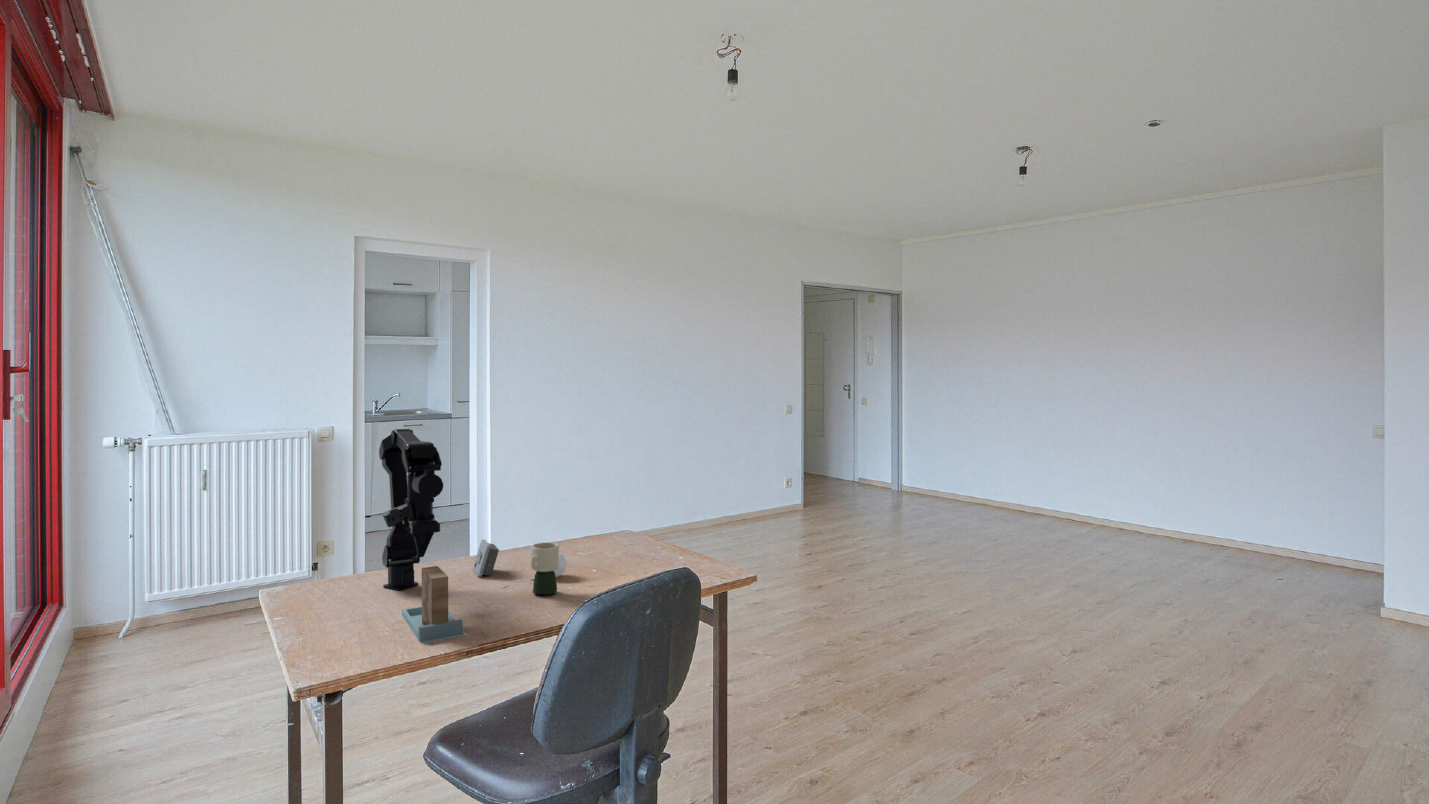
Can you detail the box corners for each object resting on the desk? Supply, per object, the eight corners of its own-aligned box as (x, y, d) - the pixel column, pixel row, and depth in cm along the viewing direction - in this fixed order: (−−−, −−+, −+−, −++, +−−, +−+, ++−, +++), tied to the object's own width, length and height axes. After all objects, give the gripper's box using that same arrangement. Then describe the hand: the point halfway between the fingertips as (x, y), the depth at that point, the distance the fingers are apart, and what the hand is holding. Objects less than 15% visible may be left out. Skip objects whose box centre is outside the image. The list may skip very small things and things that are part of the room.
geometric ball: (548, 585, 210) (546, 559, 215) (572, 577, 209) (570, 551, 213) (534, 578, 204) (532, 551, 208) (559, 570, 203) (557, 543, 207)
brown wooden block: (421, 623, 168) (421, 568, 168) (437, 621, 170) (437, 565, 169) (431, 637, 160) (431, 578, 159) (448, 634, 162) (448, 576, 161)
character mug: (546, 586, 200) (546, 539, 199) (568, 589, 197) (568, 542, 197) (521, 597, 190) (521, 548, 190) (543, 601, 187) (543, 551, 187)
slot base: (401, 617, 174) (401, 602, 173) (441, 611, 179) (441, 596, 178) (420, 646, 156) (420, 629, 156) (463, 638, 161) (463, 622, 161)
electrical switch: (472, 570, 215) (475, 538, 215) (490, 569, 218) (493, 538, 218) (478, 578, 207) (481, 546, 207) (496, 578, 209) (500, 545, 209)
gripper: (380, 492, 184) (381, 553, 184) (389, 501, 168) (390, 568, 168) (427, 488, 189) (428, 548, 189) (440, 497, 173) (441, 562, 173)
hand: (421, 556), depth 180 cm, fingers closed
